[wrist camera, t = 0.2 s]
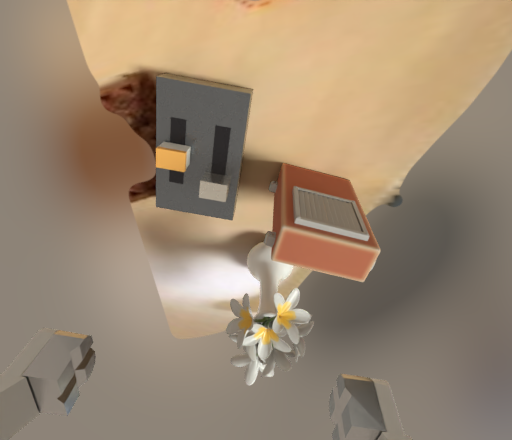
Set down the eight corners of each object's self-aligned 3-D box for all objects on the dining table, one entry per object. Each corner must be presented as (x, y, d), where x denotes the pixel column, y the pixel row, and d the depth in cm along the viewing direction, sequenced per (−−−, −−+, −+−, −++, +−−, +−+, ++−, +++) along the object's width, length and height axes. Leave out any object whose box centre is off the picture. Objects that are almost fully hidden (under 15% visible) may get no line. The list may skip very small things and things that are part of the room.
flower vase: (239, 285, 72) (220, 394, 50) (243, 213, 62) (222, 309, 41) (298, 291, 71) (304, 403, 50) (310, 219, 62) (325, 320, 41)
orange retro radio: (344, 210, 61) (266, 191, 60) (359, 177, 57) (276, 155, 56) (371, 289, 42) (259, 262, 41) (395, 247, 39) (273, 217, 38)
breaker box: (164, 73, 51) (146, 79, 44) (253, 89, 51) (248, 98, 44) (163, 196, 62) (148, 217, 55) (235, 209, 62) (229, 231, 55)
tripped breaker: (163, 141, 52) (155, 148, 49) (191, 146, 52) (185, 153, 49) (163, 159, 53) (155, 167, 50) (190, 164, 54) (184, 172, 50)
